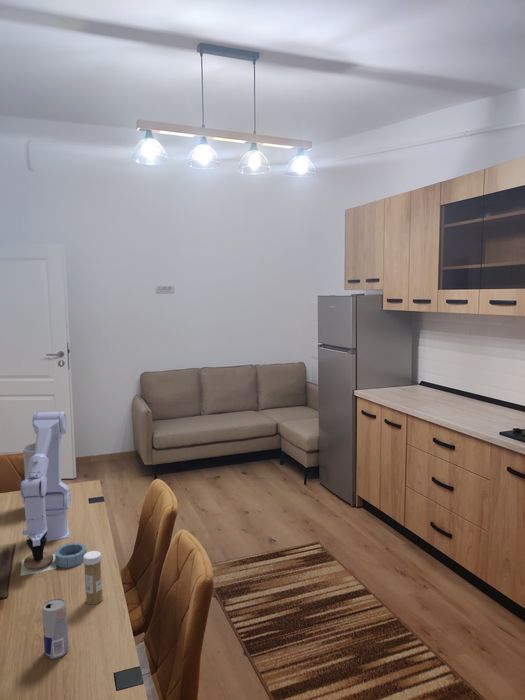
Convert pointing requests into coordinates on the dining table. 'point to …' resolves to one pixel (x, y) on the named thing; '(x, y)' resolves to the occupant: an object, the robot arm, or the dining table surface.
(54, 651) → the energy drink
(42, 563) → the lid
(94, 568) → the sprinkles bottle
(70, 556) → the bowl
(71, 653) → the dining table surface
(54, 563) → the mat
